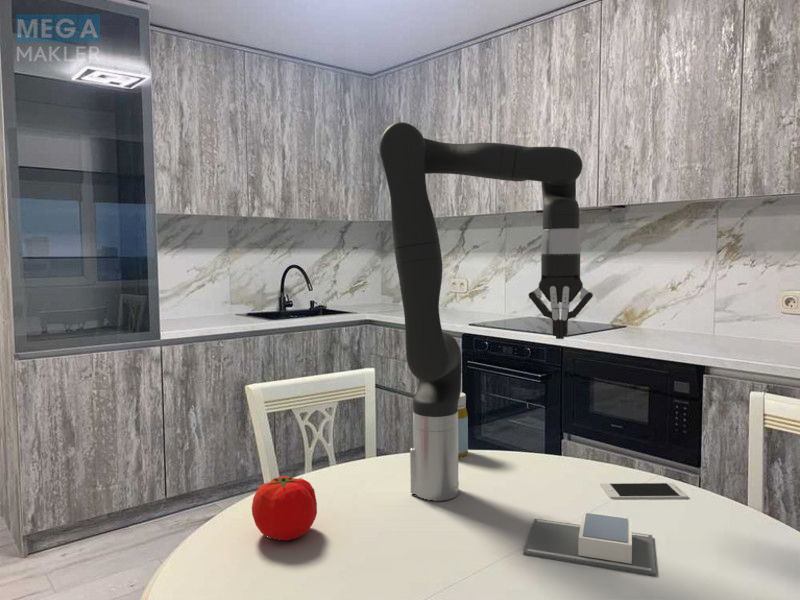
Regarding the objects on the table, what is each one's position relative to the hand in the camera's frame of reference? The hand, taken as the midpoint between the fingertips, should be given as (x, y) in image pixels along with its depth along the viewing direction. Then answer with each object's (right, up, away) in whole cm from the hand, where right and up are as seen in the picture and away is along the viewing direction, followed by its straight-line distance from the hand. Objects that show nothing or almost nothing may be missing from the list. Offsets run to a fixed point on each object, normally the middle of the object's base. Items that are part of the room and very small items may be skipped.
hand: (560, 338), depth 119 cm
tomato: (-53, -34, -14) cm, 64 cm away
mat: (0, -34, -20) cm, 39 cm away
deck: (+2, -32, -21) cm, 38 cm away
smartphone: (+18, -32, +2) cm, 37 cm away
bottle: (-19, -31, +27) cm, 45 cm away
